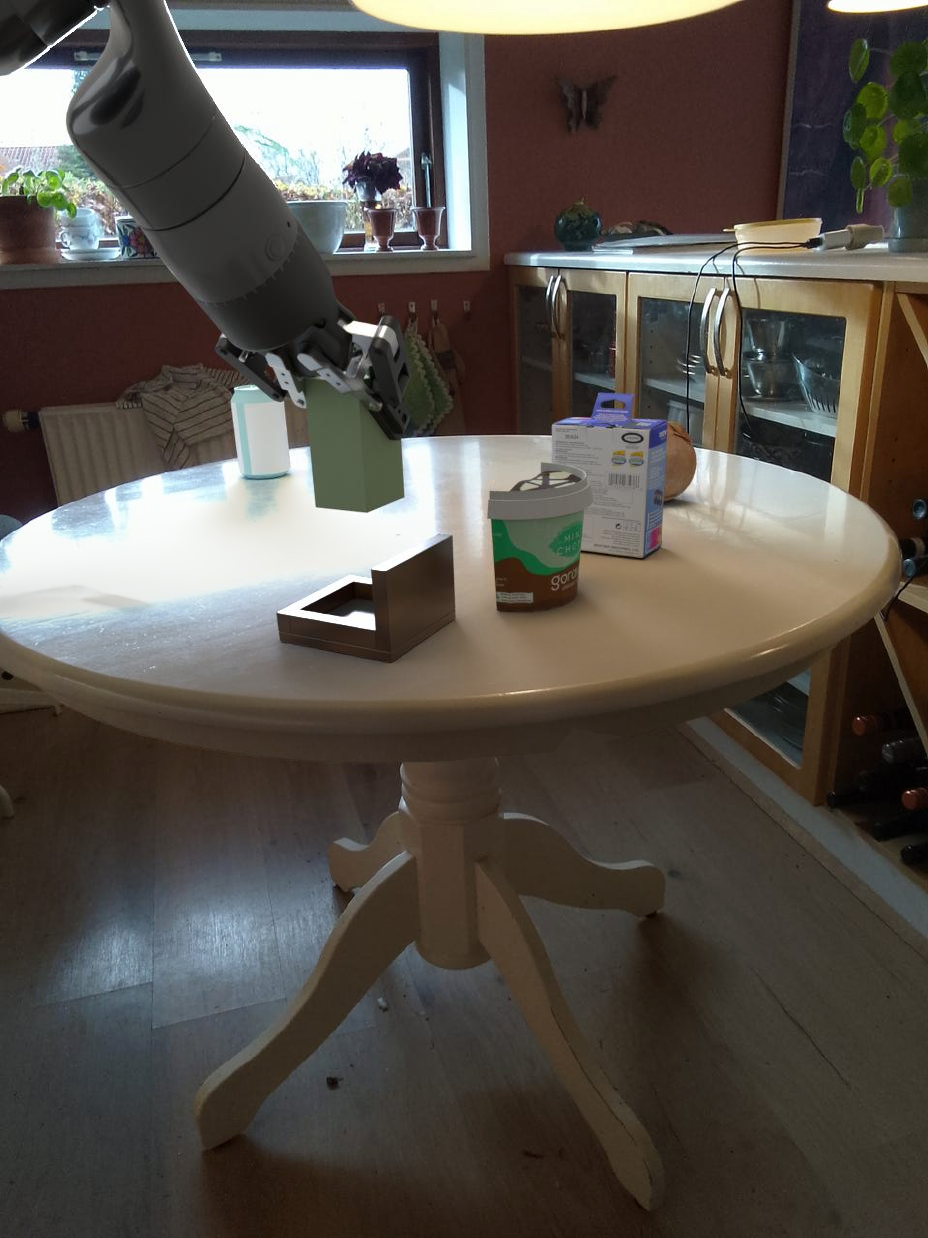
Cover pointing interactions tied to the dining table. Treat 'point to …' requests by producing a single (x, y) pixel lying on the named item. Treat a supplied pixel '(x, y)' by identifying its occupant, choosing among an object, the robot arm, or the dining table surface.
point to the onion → (678, 461)
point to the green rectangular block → (350, 452)
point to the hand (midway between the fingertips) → (369, 428)
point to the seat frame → (379, 606)
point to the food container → (539, 538)
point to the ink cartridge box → (617, 475)
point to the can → (259, 433)
